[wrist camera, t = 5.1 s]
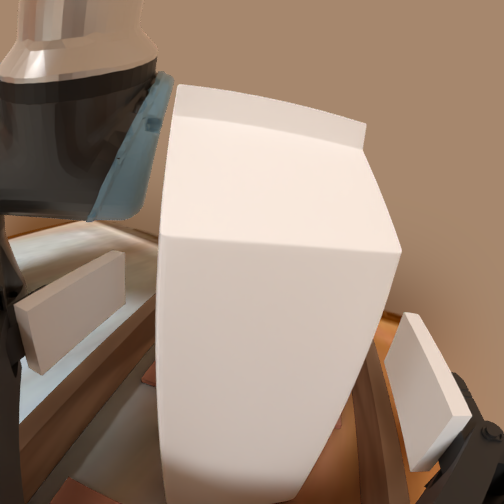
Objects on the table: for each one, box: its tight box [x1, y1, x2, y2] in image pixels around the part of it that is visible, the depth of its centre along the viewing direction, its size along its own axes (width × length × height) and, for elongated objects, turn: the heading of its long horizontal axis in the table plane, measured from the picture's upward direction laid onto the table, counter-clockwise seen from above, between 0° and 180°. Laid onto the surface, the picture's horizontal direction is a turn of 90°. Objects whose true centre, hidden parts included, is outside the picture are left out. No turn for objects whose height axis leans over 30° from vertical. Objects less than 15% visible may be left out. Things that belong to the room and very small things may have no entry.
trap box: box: [19, 293, 410, 504], centre depth 20 cm, size 20×36×4 cm, turn 170°
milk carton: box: [155, 84, 402, 504], centre depth 13 cm, size 7×7×19 cm
